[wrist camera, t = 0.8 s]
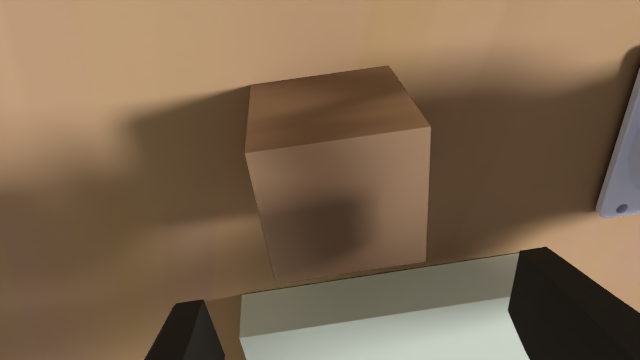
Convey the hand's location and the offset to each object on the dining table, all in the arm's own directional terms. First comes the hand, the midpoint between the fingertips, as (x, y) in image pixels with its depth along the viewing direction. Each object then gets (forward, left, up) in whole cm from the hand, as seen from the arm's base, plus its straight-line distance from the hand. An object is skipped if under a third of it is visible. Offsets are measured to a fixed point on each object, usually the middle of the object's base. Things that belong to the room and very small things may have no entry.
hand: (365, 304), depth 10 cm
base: (-2, +15, -8) cm, 17 cm away
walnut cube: (0, 0, -8) cm, 8 cm away
